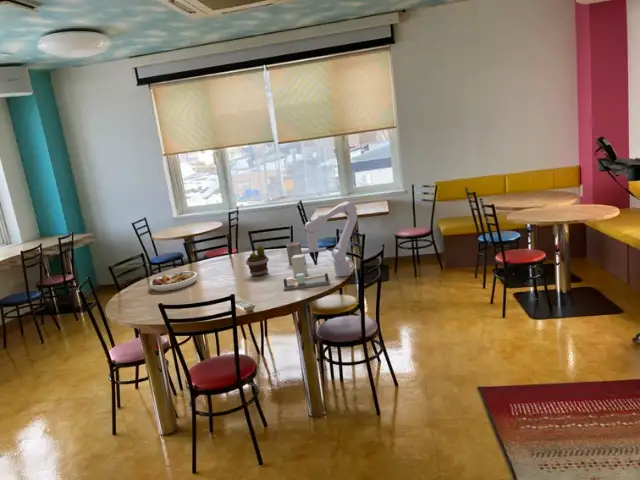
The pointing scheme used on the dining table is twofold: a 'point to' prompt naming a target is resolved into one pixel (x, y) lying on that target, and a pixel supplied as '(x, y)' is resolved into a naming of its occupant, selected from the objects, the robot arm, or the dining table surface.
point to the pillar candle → (293, 250)
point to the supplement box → (299, 265)
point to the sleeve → (300, 278)
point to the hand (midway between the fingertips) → (315, 264)
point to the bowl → (173, 281)
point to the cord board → (306, 282)
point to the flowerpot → (258, 262)
